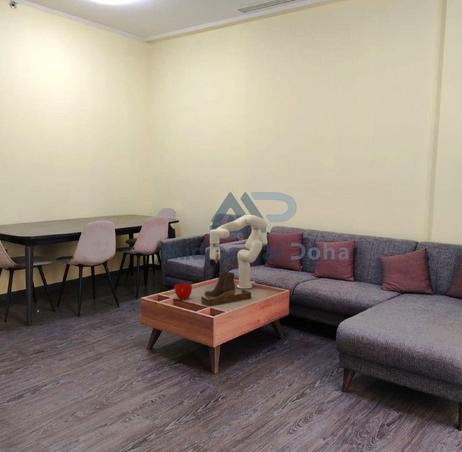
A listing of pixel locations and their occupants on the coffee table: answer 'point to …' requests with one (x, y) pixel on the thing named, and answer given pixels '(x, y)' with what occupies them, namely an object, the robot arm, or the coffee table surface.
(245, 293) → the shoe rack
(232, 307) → the coffee table surface
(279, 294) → the coffee table surface
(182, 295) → the ceramic cup
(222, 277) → the boot
